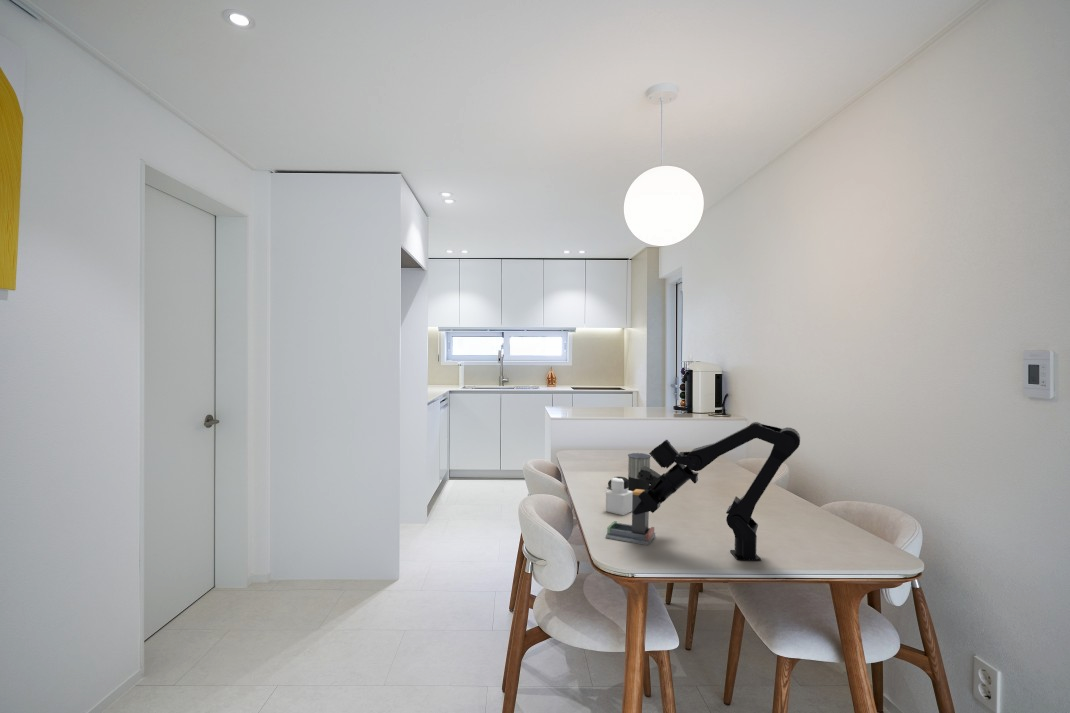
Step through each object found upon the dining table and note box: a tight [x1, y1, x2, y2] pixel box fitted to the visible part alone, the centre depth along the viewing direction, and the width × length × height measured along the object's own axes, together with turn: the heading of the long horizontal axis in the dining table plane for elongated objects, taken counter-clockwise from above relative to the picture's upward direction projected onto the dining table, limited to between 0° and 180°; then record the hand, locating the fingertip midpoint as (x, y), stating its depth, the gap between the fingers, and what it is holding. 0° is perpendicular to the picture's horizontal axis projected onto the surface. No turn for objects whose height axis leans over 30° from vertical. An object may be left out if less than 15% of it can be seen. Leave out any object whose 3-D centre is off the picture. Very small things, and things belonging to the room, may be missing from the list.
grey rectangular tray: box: [605, 520, 656, 546], centre depth 168 cm, size 13×9×3 cm
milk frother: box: [607, 452, 652, 491], centre depth 223 cm, size 14×16×15 cm
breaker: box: [631, 489, 650, 534], centre depth 167 cm, size 4×4×13 cm
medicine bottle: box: [605, 476, 633, 516], centre depth 194 cm, size 7×7×12 cm
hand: (636, 511), depth 167 cm, fingers closed on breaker, 4 cm apart
